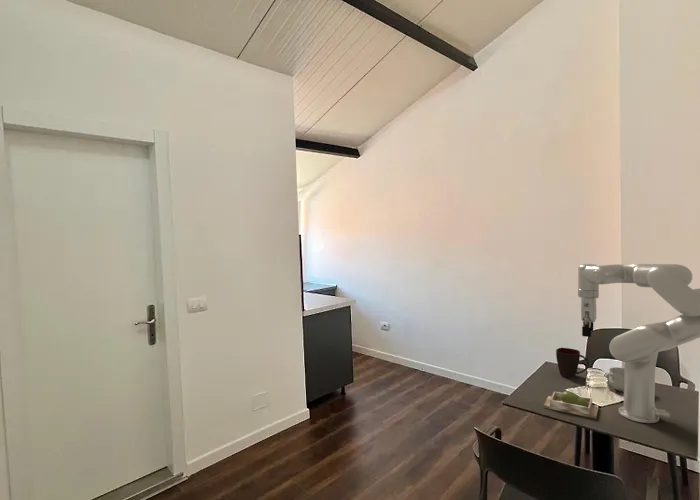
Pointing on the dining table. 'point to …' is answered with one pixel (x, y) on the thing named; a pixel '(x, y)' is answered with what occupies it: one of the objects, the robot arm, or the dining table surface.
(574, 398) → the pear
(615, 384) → the teacup
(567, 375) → the mug
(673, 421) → the dining table surface
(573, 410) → the open rectangular box
